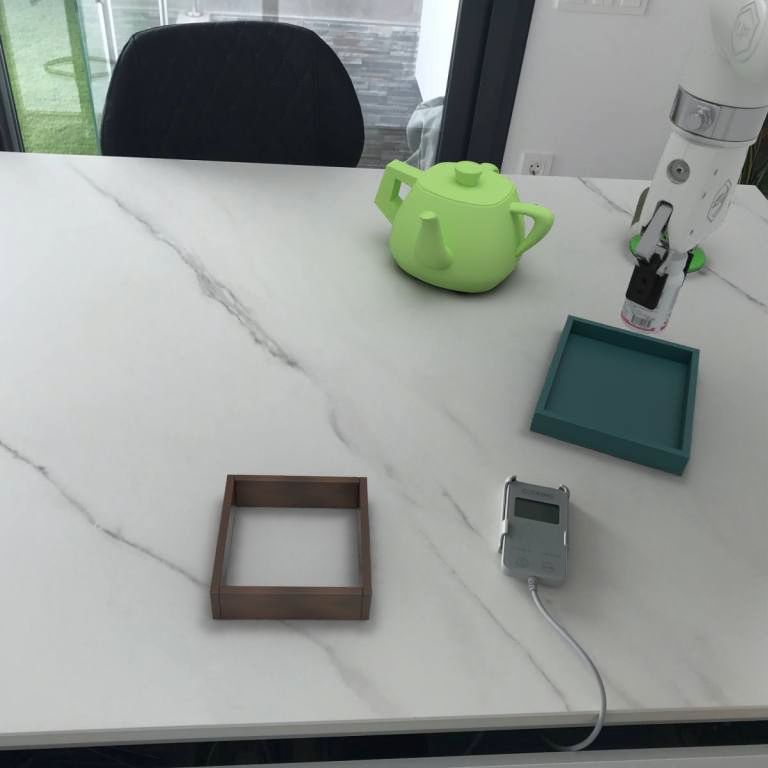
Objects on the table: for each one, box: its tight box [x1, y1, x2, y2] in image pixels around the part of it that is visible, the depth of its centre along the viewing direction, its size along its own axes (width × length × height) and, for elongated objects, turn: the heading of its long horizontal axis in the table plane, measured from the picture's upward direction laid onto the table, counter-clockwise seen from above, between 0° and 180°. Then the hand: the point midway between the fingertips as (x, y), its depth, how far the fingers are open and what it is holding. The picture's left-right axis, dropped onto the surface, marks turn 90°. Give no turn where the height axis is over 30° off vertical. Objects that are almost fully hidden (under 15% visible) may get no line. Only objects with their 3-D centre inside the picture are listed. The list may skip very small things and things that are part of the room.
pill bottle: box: [620, 246, 688, 335], centre depth 77 cm, size 5×5×8 cm
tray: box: [529, 314, 701, 477], centre depth 86 cm, size 20×16×3 cm
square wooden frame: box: [209, 473, 373, 621], centre depth 65 cm, size 12×12×4 cm
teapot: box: [373, 158, 555, 293], centre depth 101 cm, size 19×20×14 cm
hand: (653, 291), depth 78 cm, fingers closed on pill bottle, 4 cm apart
